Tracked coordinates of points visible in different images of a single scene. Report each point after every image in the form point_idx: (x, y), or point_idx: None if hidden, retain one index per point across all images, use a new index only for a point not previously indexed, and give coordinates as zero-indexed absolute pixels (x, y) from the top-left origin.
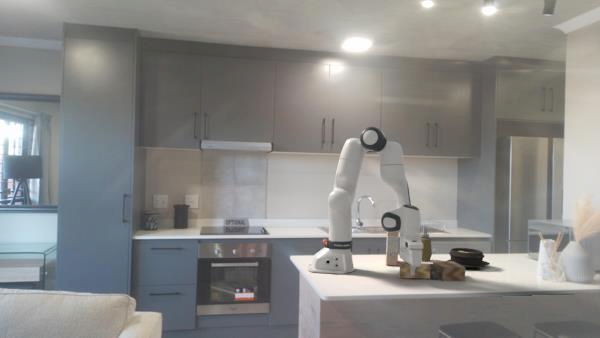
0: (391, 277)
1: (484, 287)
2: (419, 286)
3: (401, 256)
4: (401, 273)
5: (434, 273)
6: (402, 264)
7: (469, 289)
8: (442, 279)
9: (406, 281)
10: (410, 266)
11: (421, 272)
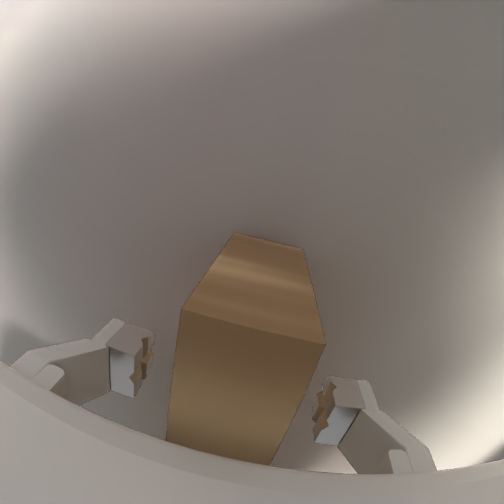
0: (345, 154)
1: None
2: (11, 259)
3: (498, 492)
4: (225, 249)
5: None
6: (182, 333)
7: None
8: None
9: (140, 237)
10: (43, 368)
11: None
